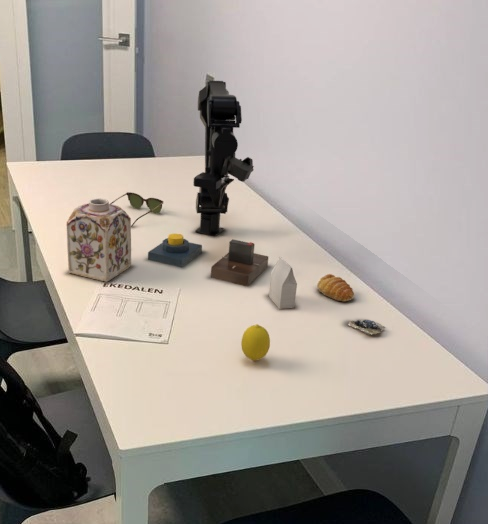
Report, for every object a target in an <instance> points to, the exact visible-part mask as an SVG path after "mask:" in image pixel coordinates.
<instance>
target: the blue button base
mask: <svg viewBox="0 0 488 524" xmlns="http://www.w3.org/2000/svg"><path fill="white" fill-rule="evenodd" d="M202 252H203V245H202V244H199V243H194V242H189V240H187V239H186V238H183V244H182V245H170V244H168V237H167V238H165V239H164V238H163V240H162V242H161V243H160V244H158V245H156V246H155V247H154V248H151V250H149V251H148V252H147V260H148V261H152V262H157V263H161V264H164V265H168V266H169V265H170V266H174V267H179V268H183V267H185V266H186V265H187V264H189V263H190V262H191V261H193V260H194V259H195V258H196V257H198V256H199V255H200V254H202Z"/></svg>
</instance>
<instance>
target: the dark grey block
mask: <svg viewBox="0 0 488 524" xmlns="http://www.w3.org/2000/svg"><path fill="white" fill-rule="evenodd" d="M228 253H229V256H228V260H230V261H235V262H240V263H244V264H249V265H250V264H252V263H253V256H254V253H255V243H254V242H252V241H250V242H247V241H244V240H238V239H233V238H232V239H231V240H229V243H228Z"/></svg>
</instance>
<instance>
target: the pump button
mask: <svg viewBox="0 0 488 524" xmlns="http://www.w3.org/2000/svg"><path fill="white" fill-rule="evenodd" d="M167 238H168V244H170V245H182V244H183V239H184V235H183V234H181V233H170V234H168V235H167Z"/></svg>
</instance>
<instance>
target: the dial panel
mask: <svg viewBox="0 0 488 524" xmlns="http://www.w3.org/2000/svg"><path fill="white" fill-rule="evenodd" d="M228 256H229V252H227V253H226V254H225V255H223V256H221V258H220V259H219V260H218V261H217V262H215V263H214V264H213V265H211V267H210V278H211V279H216V280H220V281H224V282H227V283H232V284H237V285H241V286H245V287H249V286H250V285H251V284H253V282H254V281H255V280H256V279H257V278H258V277H259V276H260V275H261V274H262V273H263V272H264V271H265V270H266V269H267V268H268V265H269V256H268V255H264V254H259V253H255V252H254V256H253V263H252V264H250V265H249V264H244V263H240V262H235V261H230V260H228Z"/></svg>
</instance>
